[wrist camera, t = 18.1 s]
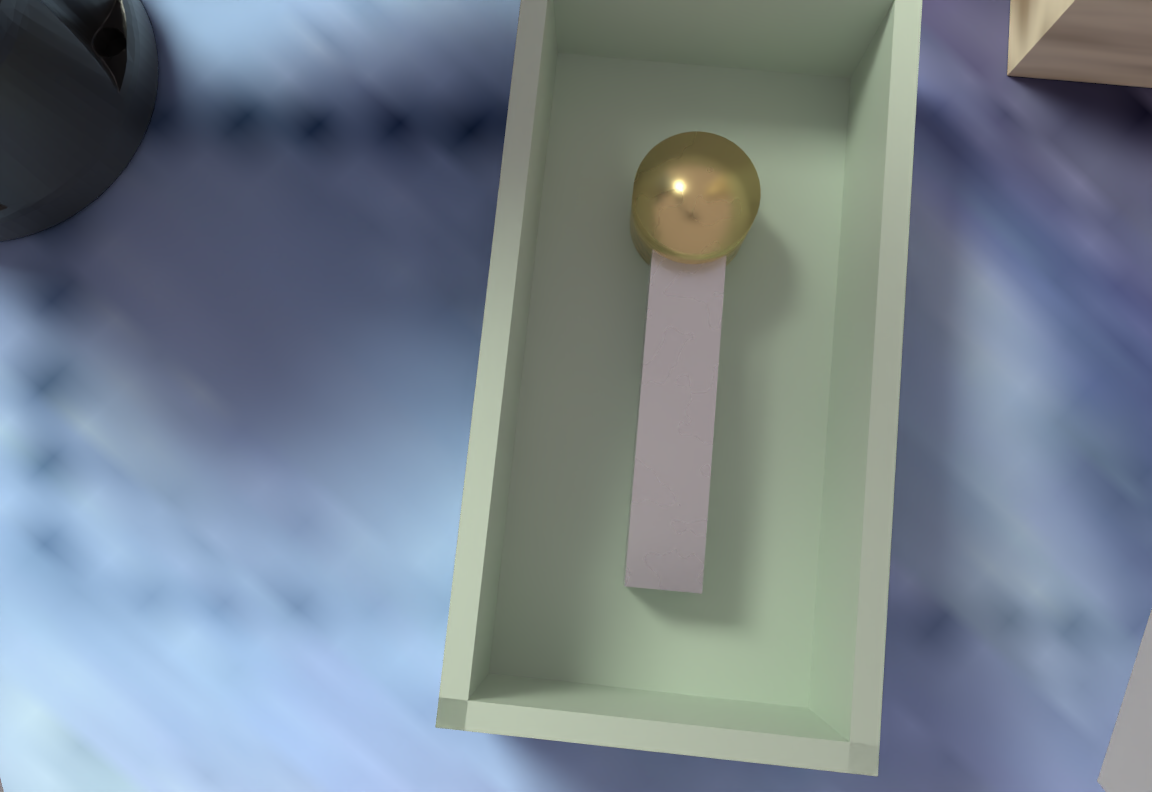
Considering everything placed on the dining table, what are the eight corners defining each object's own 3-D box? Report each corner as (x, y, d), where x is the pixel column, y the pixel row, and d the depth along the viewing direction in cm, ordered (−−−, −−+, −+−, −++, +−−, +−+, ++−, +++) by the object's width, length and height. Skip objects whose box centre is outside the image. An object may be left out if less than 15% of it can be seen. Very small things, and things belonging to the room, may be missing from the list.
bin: (828, 733, 40) (877, 776, 33) (463, 693, 40) (435, 727, 33) (871, 63, 44) (923, -25, 37) (538, 35, 44) (527, -58, 37)
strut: (720, 592, 40) (733, 598, 36) (598, 580, 40) (598, 585, 36) (749, 173, 42) (764, 136, 38) (634, 164, 43) (638, 126, 39)
